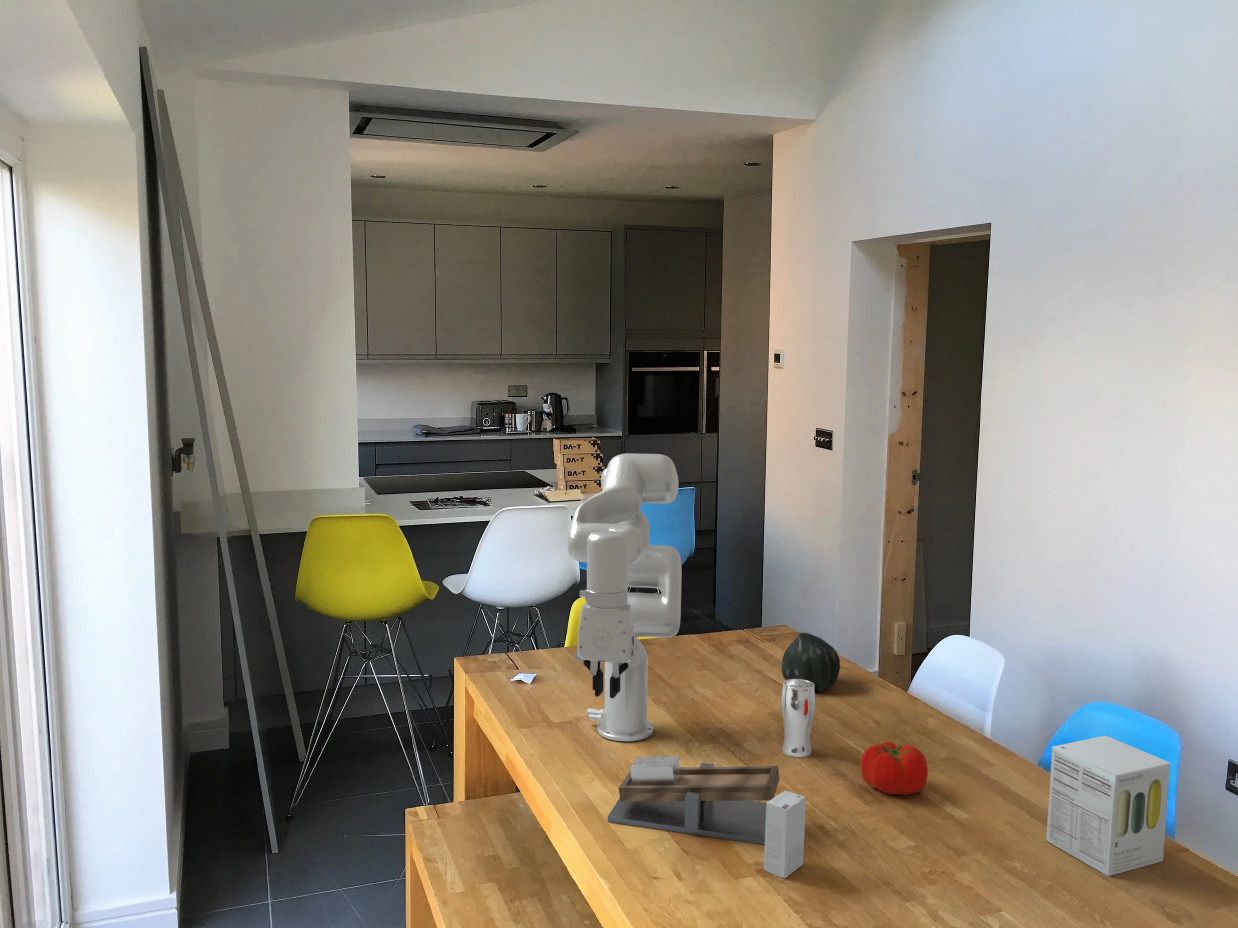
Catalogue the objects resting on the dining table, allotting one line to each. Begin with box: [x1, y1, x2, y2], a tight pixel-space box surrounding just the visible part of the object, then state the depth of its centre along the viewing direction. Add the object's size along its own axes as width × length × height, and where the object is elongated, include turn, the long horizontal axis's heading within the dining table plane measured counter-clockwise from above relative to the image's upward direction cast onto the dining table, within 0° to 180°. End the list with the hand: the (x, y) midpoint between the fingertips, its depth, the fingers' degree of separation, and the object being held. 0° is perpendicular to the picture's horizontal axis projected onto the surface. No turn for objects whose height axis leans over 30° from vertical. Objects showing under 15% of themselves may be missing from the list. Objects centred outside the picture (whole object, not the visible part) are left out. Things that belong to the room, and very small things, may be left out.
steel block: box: [629, 755, 681, 786], centre depth 181 cm, size 8×5×4 cm, turn 74°
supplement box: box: [1045, 735, 1171, 877], centre depth 167 cm, size 13×13×18 cm
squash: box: [781, 632, 841, 692], centre depth 250 cm, size 14×15×15 cm
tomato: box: [860, 741, 929, 796], centre depth 192 cm, size 13×12×8 cm
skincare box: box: [763, 790, 807, 879], centre depth 161 cm, size 6×4×12 cm
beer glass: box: [781, 679, 816, 759], centre depth 208 cm, size 7×7×15 cm
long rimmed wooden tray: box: [618, 765, 780, 802], centre depth 179 cm, size 28×9×2 cm, turn 74°
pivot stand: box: [607, 762, 767, 846], centre depth 179 cm, size 31×15×7 cm, turn 74°
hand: (606, 694), depth 182 cm, fingers closed
